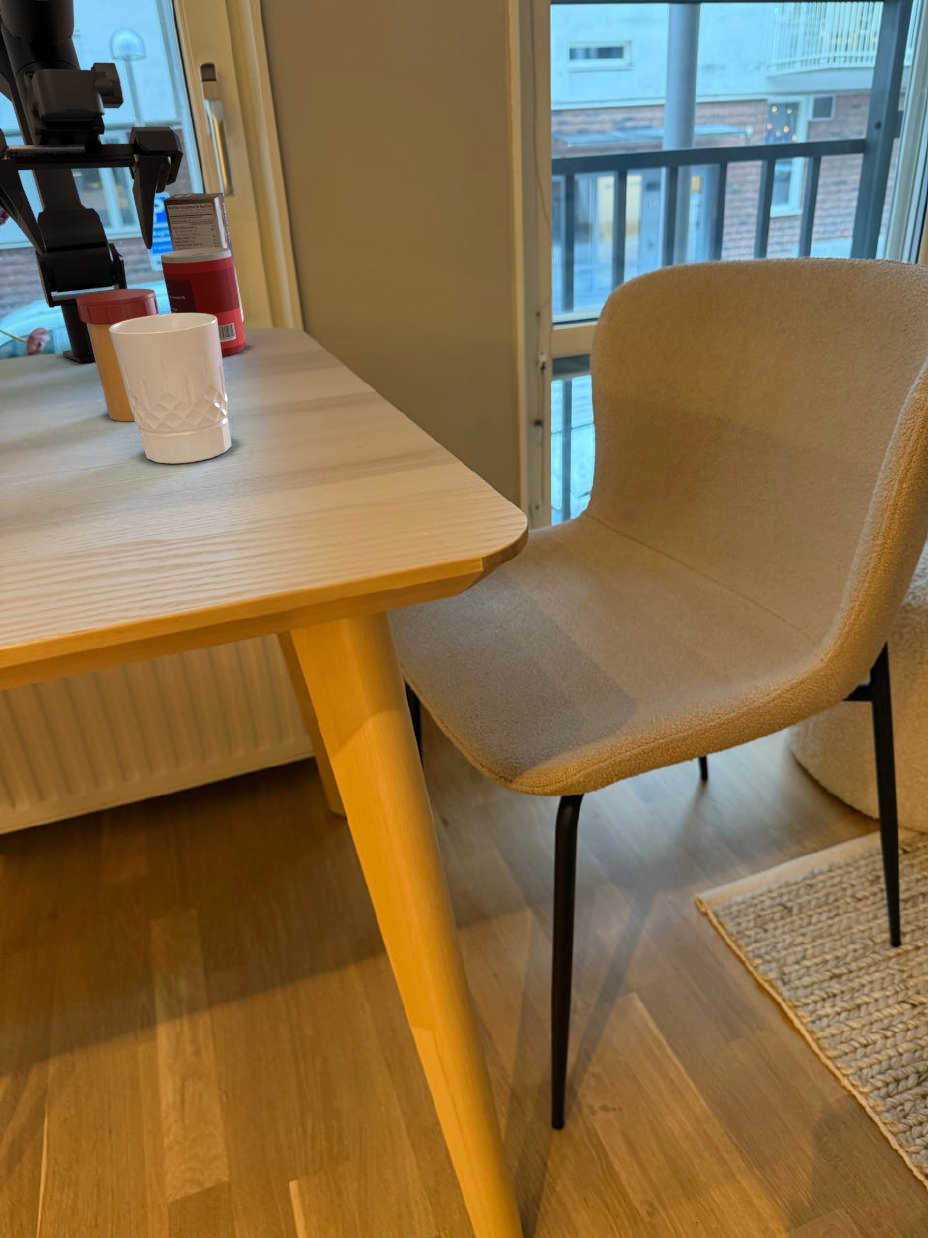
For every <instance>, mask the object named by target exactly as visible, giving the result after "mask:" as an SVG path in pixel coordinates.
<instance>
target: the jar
mask: <svg viewBox="0 0 928 1238" xmlns="http://www.w3.org/2000/svg"><path fill="white" fill-rule="evenodd" d="M114 324H116V323H108V324H92V323H87V327H88V331H89V335H90V340H91V344H92V348H93V352H94V356H95V360H94V361H95V364H96V367H97V368H96V369H97V373H98V377H99V380H100V385H101V389H102V392H103V397H104V401H105V405H106V409H107V414H108V417H109V419H111V420H113V421H117V422H135V420H134V415H133V413H132V410H131V407H130V404H129V401H128V397H127V394H126V390H125V386H124V383H123V379H122V375H121V372H120V368H119V365H118V361H117V357H116V354H115V350H114V347H113V343H112V340H111V336H110V332H109V327H110V326H112V325H114Z"/></svg>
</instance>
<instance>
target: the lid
mask: <svg viewBox="0 0 928 1238" xmlns="http://www.w3.org/2000/svg"><path fill="white" fill-rule="evenodd" d="M108 290H109V291H101V290H100V291H101V292H95V293H90V294H86V295H82V296H79V297H77V298H76V300H77V303H78V305H77V307H78V311H79V315H80V319H81V321H82V322H85V323H92V324H108V323H119V322H122V321H126V320H130V319H134V318H140V317H146V316H153V315H159V314H160V309H159V305H158V301H157V296H156V291H155V290H154V289H151V288H128V289H119V290H110V289H108Z"/></svg>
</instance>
